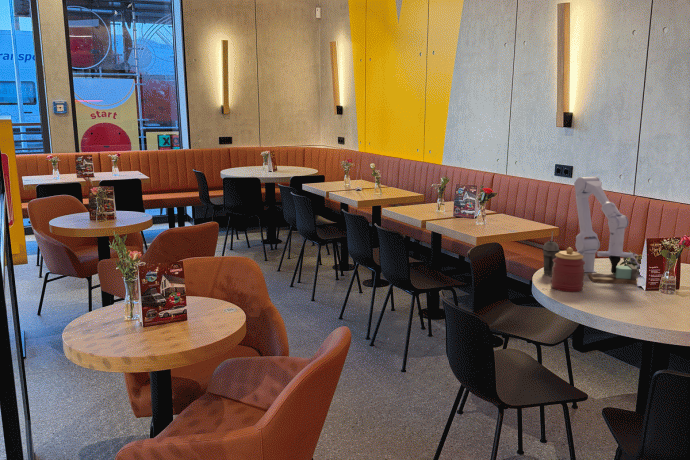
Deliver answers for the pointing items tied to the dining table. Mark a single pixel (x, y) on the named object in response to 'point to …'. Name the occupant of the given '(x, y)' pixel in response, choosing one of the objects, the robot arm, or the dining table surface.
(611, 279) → the rail board
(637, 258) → the passion flower
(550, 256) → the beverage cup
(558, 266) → the canister
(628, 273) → the keeper
